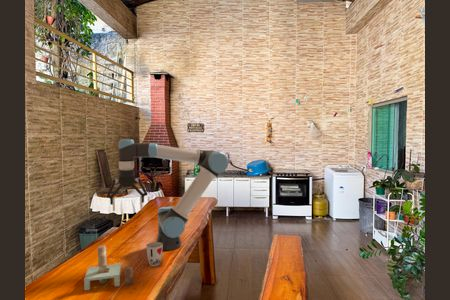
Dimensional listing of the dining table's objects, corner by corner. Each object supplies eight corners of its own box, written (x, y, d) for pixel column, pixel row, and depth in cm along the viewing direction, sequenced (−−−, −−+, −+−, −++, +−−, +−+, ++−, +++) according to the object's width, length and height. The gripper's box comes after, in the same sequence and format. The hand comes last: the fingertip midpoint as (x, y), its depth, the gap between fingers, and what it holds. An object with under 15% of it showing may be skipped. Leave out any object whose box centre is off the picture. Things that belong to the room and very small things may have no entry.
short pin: (133, 281, 138) (132, 266, 138) (132, 285, 135) (132, 269, 134) (125, 282, 137) (124, 267, 137) (124, 286, 134) (124, 270, 134)
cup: (148, 268, 151) (147, 248, 151) (145, 262, 159) (145, 243, 158) (164, 265, 154) (164, 246, 154) (161, 259, 162) (160, 241, 161)
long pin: (107, 279, 140) (106, 245, 139) (106, 283, 137) (105, 247, 136) (99, 280, 139) (98, 245, 138) (98, 284, 136) (97, 248, 135)
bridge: (120, 273, 145) (120, 263, 145) (119, 285, 134) (119, 274, 134) (89, 277, 142) (88, 267, 141) (84, 290, 130) (84, 278, 130)
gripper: (151, 167, 166) (151, 206, 167) (101, 169, 159) (102, 209, 161) (151, 169, 159) (152, 209, 160) (100, 170, 152) (101, 213, 153)
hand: (127, 209), depth 160 cm, fingers open, 13 cm apart
